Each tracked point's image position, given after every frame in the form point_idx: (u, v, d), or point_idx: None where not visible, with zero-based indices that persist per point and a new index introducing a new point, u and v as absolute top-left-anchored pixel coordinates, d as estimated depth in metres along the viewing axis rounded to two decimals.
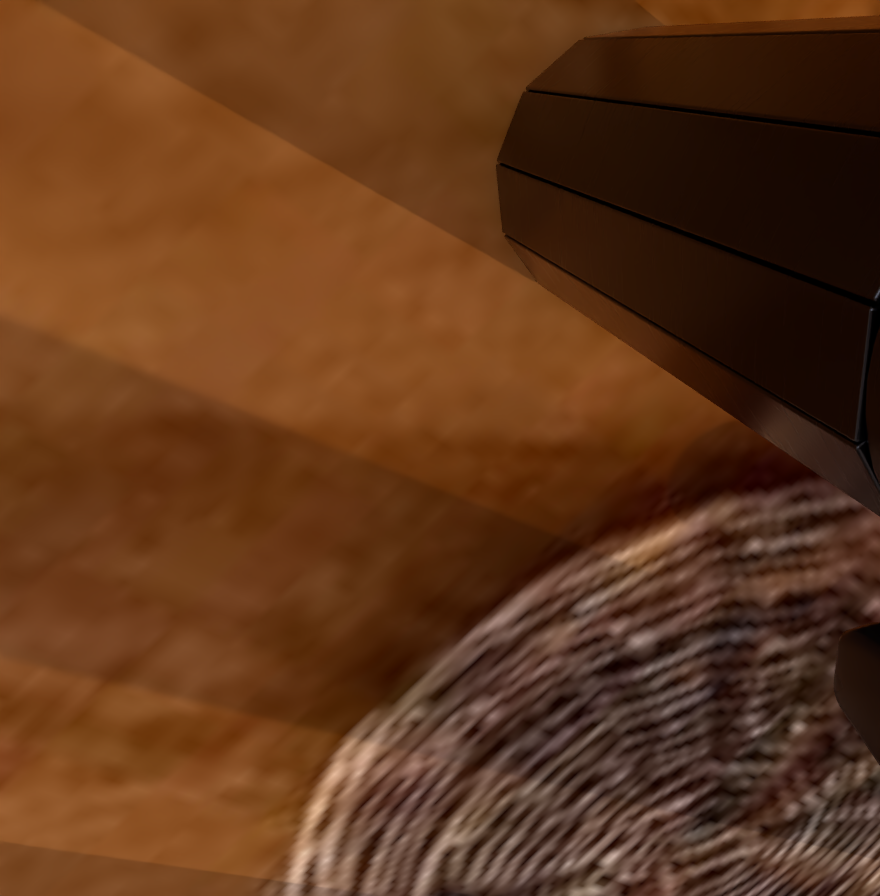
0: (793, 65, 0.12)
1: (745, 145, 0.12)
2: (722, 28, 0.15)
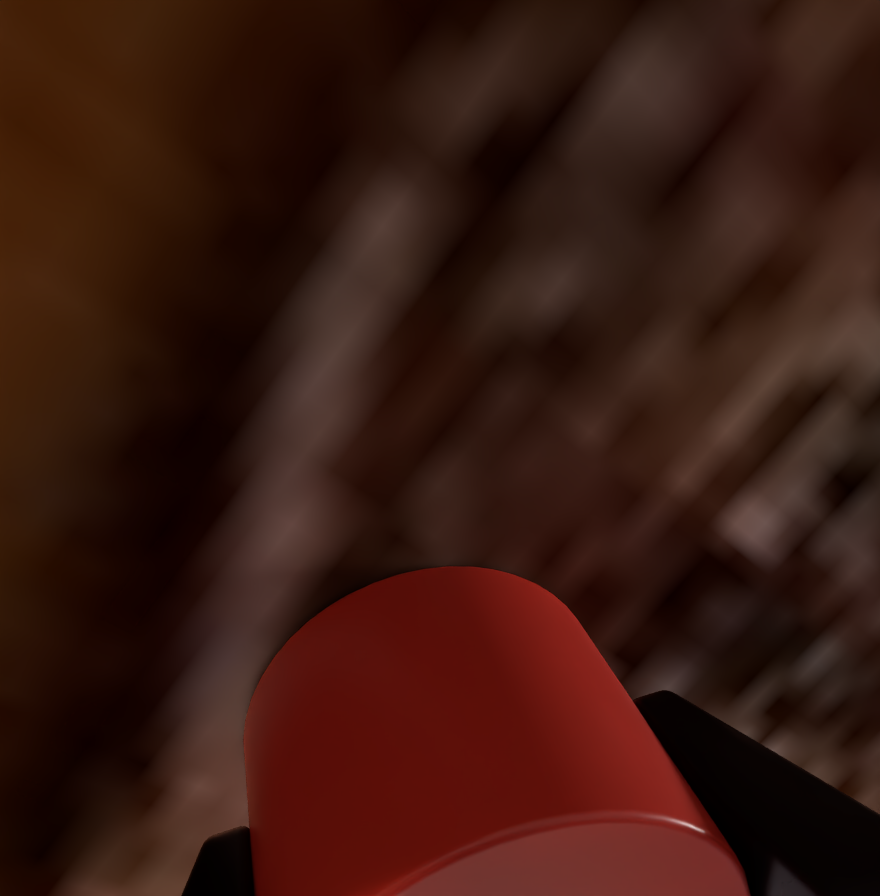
0: None
1: None
2: None
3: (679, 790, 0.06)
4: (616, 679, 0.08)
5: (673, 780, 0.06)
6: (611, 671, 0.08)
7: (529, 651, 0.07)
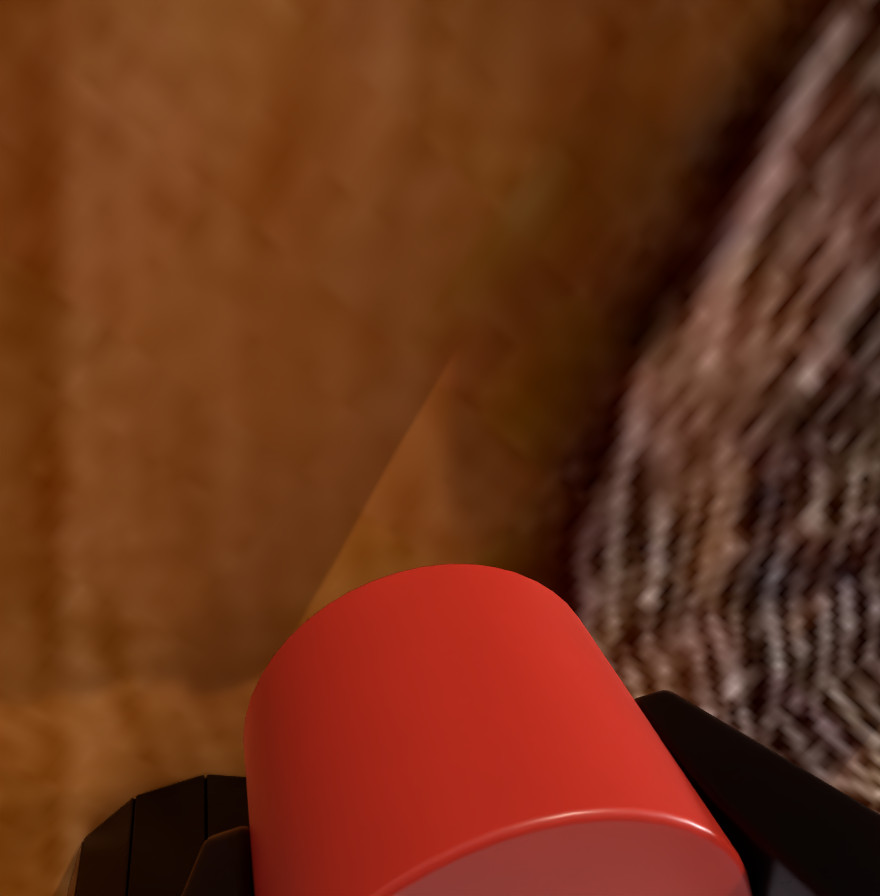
0: None
1: None
2: None
3: (680, 788, 0.06)
4: (617, 677, 0.08)
5: (674, 778, 0.06)
6: (612, 669, 0.08)
7: (529, 649, 0.07)
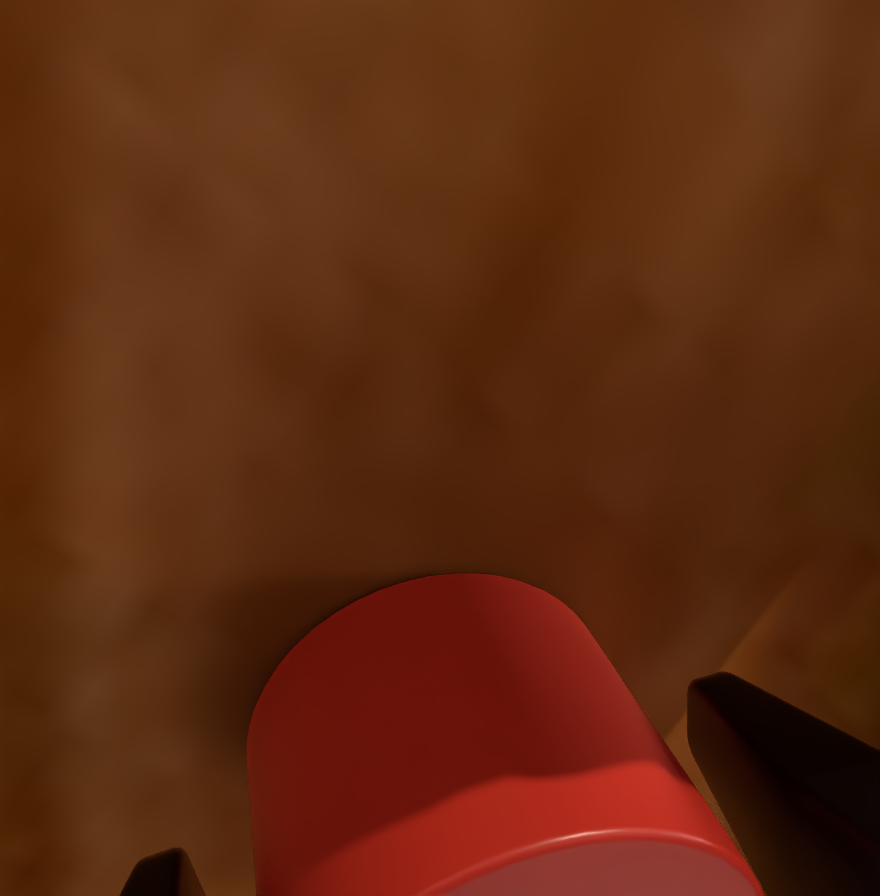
0: None
1: None
2: None
3: (695, 805, 0.06)
4: (627, 689, 0.08)
5: (688, 794, 0.06)
6: (622, 680, 0.08)
7: (539, 662, 0.07)
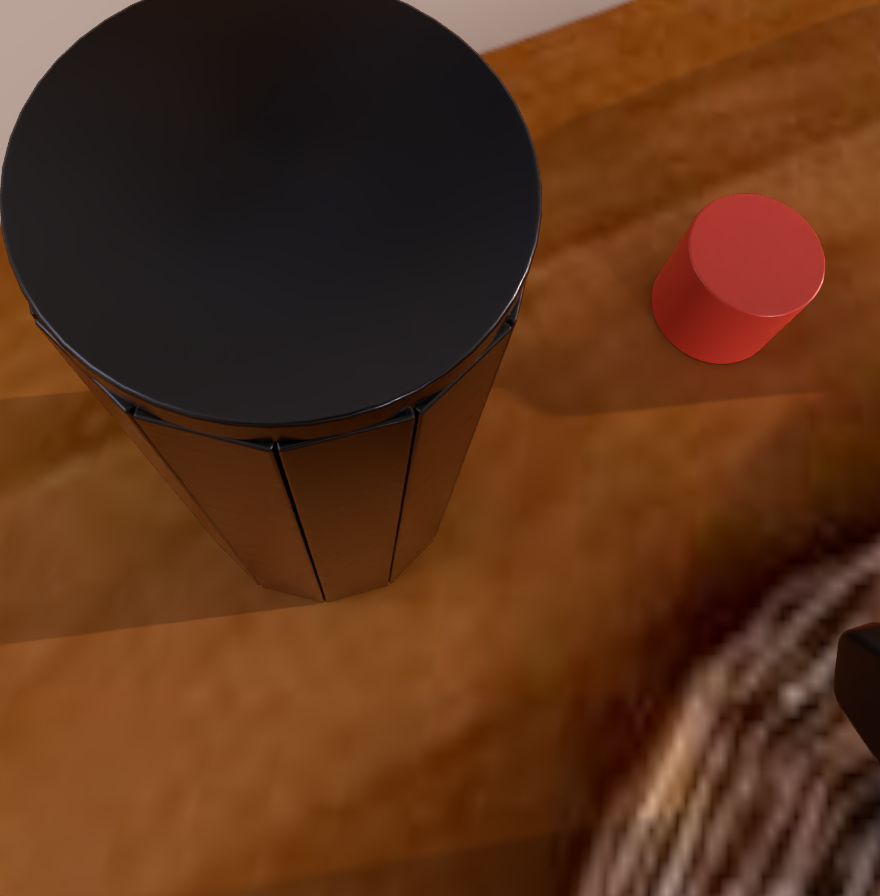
0: None
1: None
2: None
3: None
4: None
5: None
6: None
7: None
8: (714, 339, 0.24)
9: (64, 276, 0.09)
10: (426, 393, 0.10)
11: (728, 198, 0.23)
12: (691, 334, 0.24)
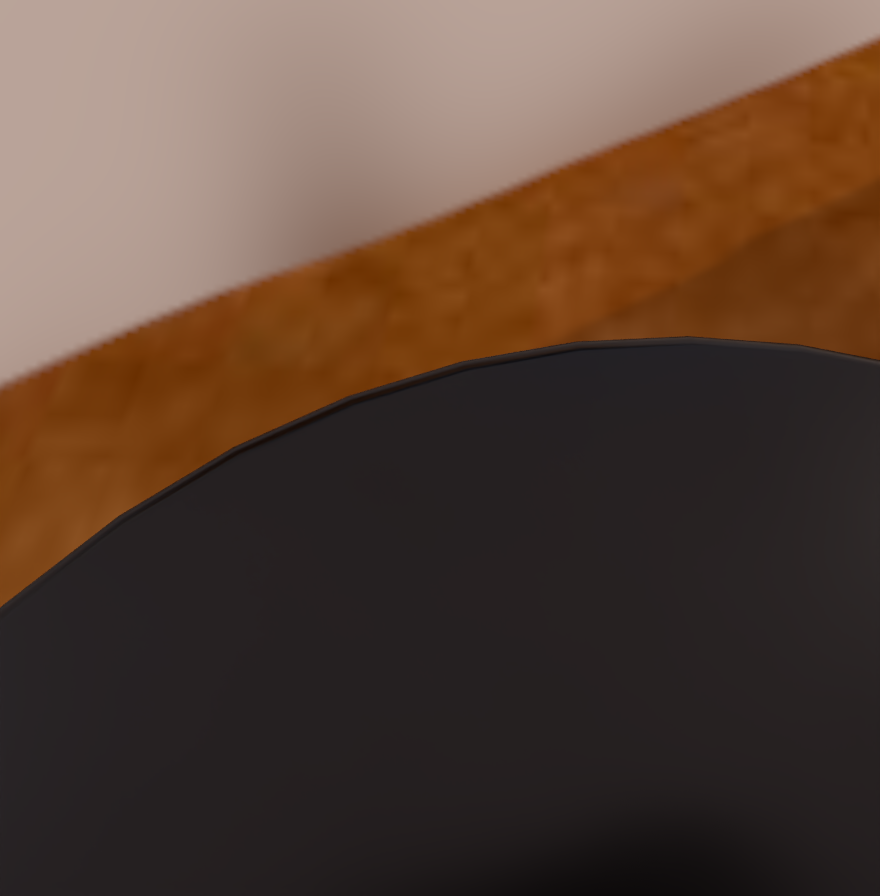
0: None
1: None
2: None
3: None
4: None
5: None
6: None
7: None
8: None
9: None
10: None
11: None
12: None
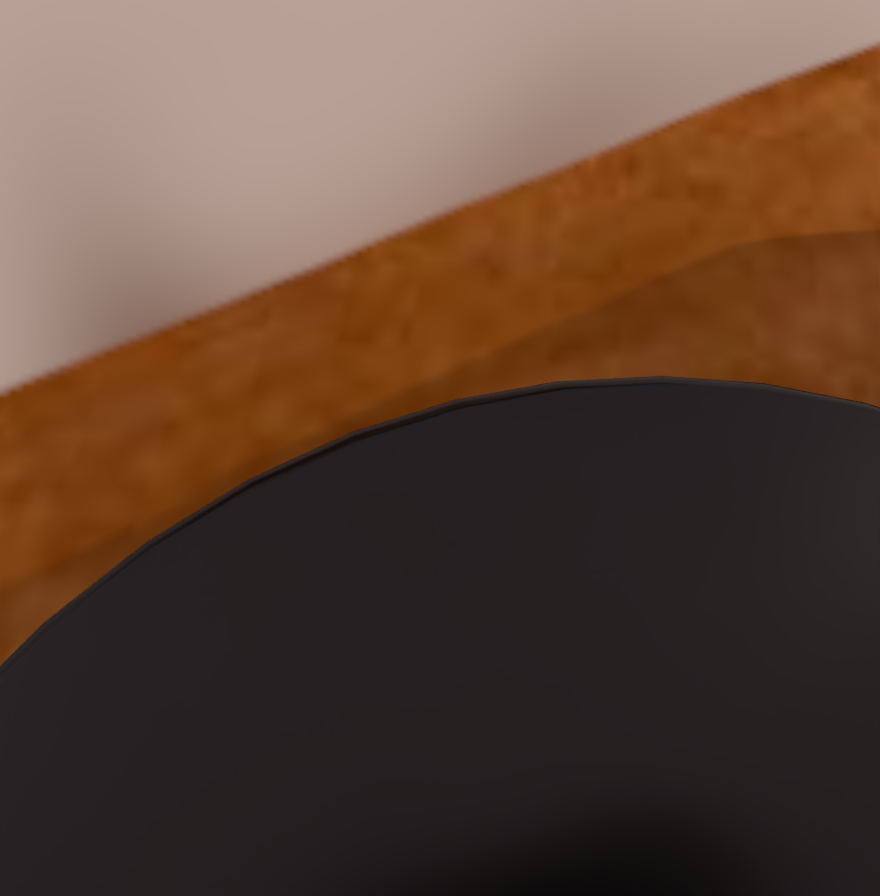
0: None
1: None
2: None
3: None
4: None
5: None
6: None
7: None
8: None
9: None
10: None
11: None
12: None
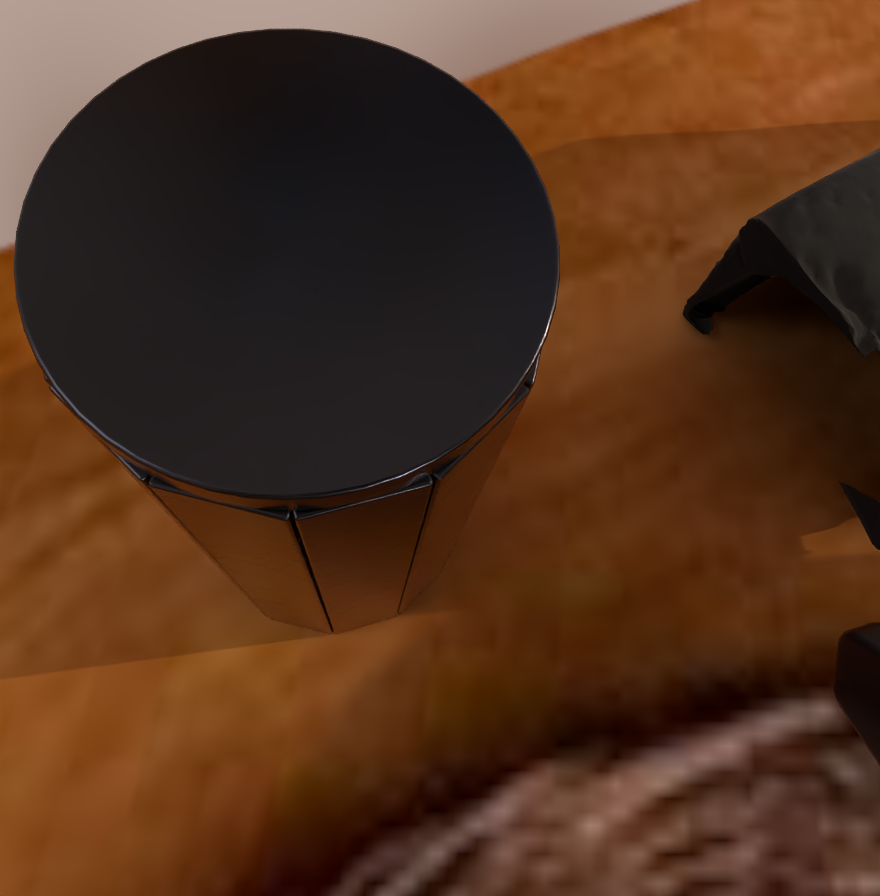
0: None
1: None
2: None
3: None
4: None
5: None
6: None
7: None
8: None
9: (79, 344, 0.09)
10: (444, 461, 0.10)
11: None
12: None
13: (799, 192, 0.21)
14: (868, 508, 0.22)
